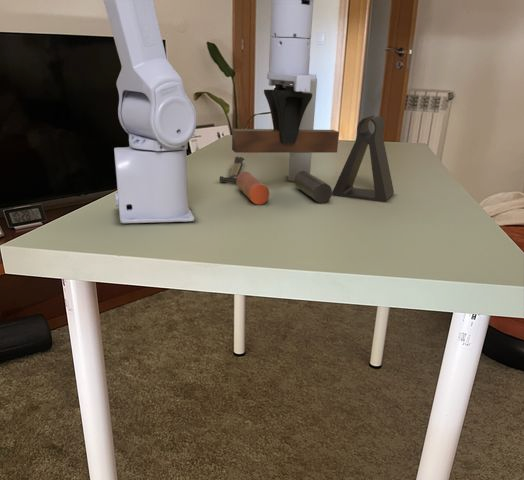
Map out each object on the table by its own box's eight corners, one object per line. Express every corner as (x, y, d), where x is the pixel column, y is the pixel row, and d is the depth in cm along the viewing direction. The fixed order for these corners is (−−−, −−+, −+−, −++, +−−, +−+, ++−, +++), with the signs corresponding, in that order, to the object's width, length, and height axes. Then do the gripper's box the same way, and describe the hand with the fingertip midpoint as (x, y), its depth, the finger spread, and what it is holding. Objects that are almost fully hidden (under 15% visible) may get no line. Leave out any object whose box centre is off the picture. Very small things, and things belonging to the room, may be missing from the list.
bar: (235, 152, 82) (235, 130, 80) (231, 150, 84) (232, 128, 82) (337, 152, 85) (339, 131, 84) (331, 150, 87) (333, 129, 86)
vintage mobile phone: (309, 177, 104) (321, 22, 92) (309, 182, 99) (321, 20, 87) (289, 176, 104) (298, 21, 92) (288, 181, 99) (297, 19, 88)
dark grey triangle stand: (331, 195, 91) (339, 116, 85) (342, 188, 96) (349, 113, 90) (386, 201, 88) (397, 120, 82) (393, 194, 93) (405, 117, 87)
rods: (249, 204, 83) (250, 184, 82) (235, 190, 91) (236, 171, 90) (331, 203, 86) (333, 183, 85) (310, 189, 95) (311, 170, 93)
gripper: (335, 39, 72) (326, 148, 79) (301, 40, 85) (296, 135, 91) (283, 36, 71) (278, 148, 77) (257, 38, 83) (254, 134, 89)
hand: (285, 141), depth 84 cm, fingers closed on bar, 2 cm apart
